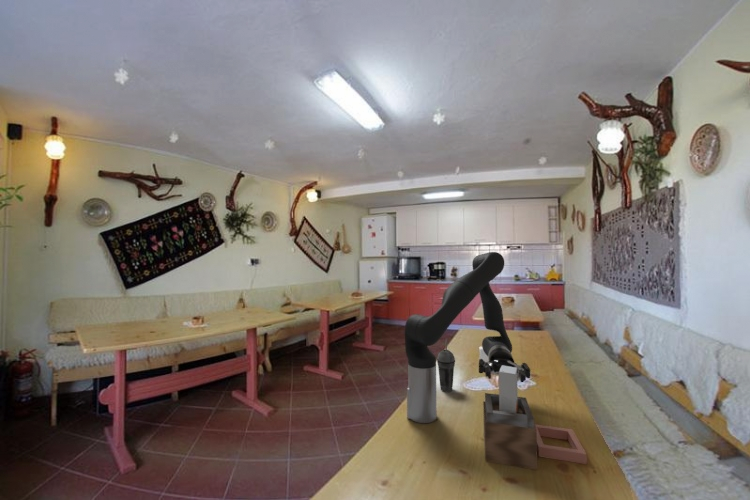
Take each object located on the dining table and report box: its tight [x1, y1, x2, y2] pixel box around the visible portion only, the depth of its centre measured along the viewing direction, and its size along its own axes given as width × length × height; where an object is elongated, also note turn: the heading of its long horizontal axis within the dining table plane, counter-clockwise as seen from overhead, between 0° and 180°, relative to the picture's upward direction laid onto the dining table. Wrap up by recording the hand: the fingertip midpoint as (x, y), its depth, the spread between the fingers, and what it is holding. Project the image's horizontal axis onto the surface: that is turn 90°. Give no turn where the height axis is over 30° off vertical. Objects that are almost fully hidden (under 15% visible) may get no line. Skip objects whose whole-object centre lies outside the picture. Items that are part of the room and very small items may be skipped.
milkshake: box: [478, 346, 489, 362], centre depth 152 cm, size 4×5×10 cm
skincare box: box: [498, 365, 519, 413], centre depth 85 cm, size 6×4×12 cm
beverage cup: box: [436, 338, 456, 393], centre depth 124 cm, size 7×7×20 cm
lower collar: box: [534, 423, 588, 465], centre depth 86 cm, size 11×12×2 cm
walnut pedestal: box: [482, 392, 538, 471], centre depth 84 cm, size 12×12×12 cm
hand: (505, 376), depth 87 cm, fingers open, 8 cm apart
